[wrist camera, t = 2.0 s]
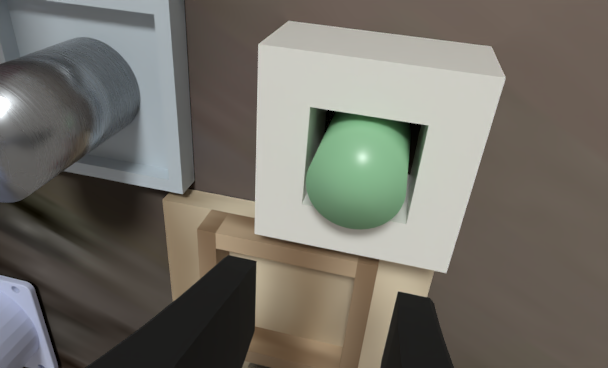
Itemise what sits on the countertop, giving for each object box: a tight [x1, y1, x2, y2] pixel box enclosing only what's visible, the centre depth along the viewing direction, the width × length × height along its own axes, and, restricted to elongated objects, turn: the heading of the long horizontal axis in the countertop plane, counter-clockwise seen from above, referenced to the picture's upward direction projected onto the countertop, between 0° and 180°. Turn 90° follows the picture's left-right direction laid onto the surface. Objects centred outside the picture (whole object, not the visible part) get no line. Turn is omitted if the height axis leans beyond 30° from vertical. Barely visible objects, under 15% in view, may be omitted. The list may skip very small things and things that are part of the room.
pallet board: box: [163, 189, 434, 368], centre depth 23 cm, size 12×14×3 cm
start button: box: [306, 111, 411, 230], centre depth 16 cm, size 3×3×4 cm
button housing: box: [254, 21, 506, 273], centre depth 16 cm, size 7×7×4 cm
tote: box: [0, 0, 195, 194], centre depth 19 cm, size 8×8×1 cm
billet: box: [0, 37, 140, 203], centre depth 17 cm, size 4×4×6 cm
